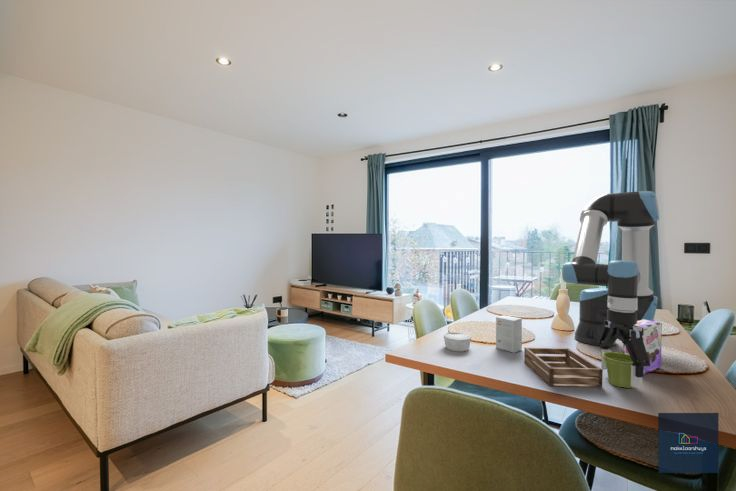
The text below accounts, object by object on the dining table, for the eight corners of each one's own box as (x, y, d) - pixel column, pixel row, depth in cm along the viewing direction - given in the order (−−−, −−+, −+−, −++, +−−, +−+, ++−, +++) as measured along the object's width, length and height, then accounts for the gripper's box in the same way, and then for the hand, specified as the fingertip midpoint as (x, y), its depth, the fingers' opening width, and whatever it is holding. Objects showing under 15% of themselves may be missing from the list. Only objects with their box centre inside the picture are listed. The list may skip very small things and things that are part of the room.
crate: (567, 363, 123) (568, 348, 123) (602, 387, 103) (602, 369, 103) (524, 362, 124) (524, 347, 124) (550, 386, 104) (550, 368, 104)
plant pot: (595, 380, 108) (595, 354, 108) (613, 376, 112) (614, 350, 112) (627, 393, 100) (628, 364, 99) (646, 387, 103) (647, 359, 103)
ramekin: (461, 342, 147) (461, 330, 147) (476, 351, 137) (477, 338, 136) (438, 345, 144) (438, 333, 143) (453, 354, 133) (453, 341, 133)
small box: (522, 349, 138) (522, 318, 137) (514, 353, 134) (514, 320, 133) (503, 344, 144) (503, 314, 144) (495, 348, 140) (495, 316, 140)
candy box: (641, 375, 112) (642, 326, 112) (621, 369, 117) (622, 322, 117) (661, 368, 118) (663, 322, 118) (642, 362, 124) (643, 318, 123)
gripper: (585, 302, 118) (584, 362, 118) (639, 319, 93) (637, 395, 93) (608, 302, 117) (606, 362, 118) (667, 319, 92) (665, 396, 93)
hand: (620, 377), depth 106 cm, fingers open, 13 cm apart
